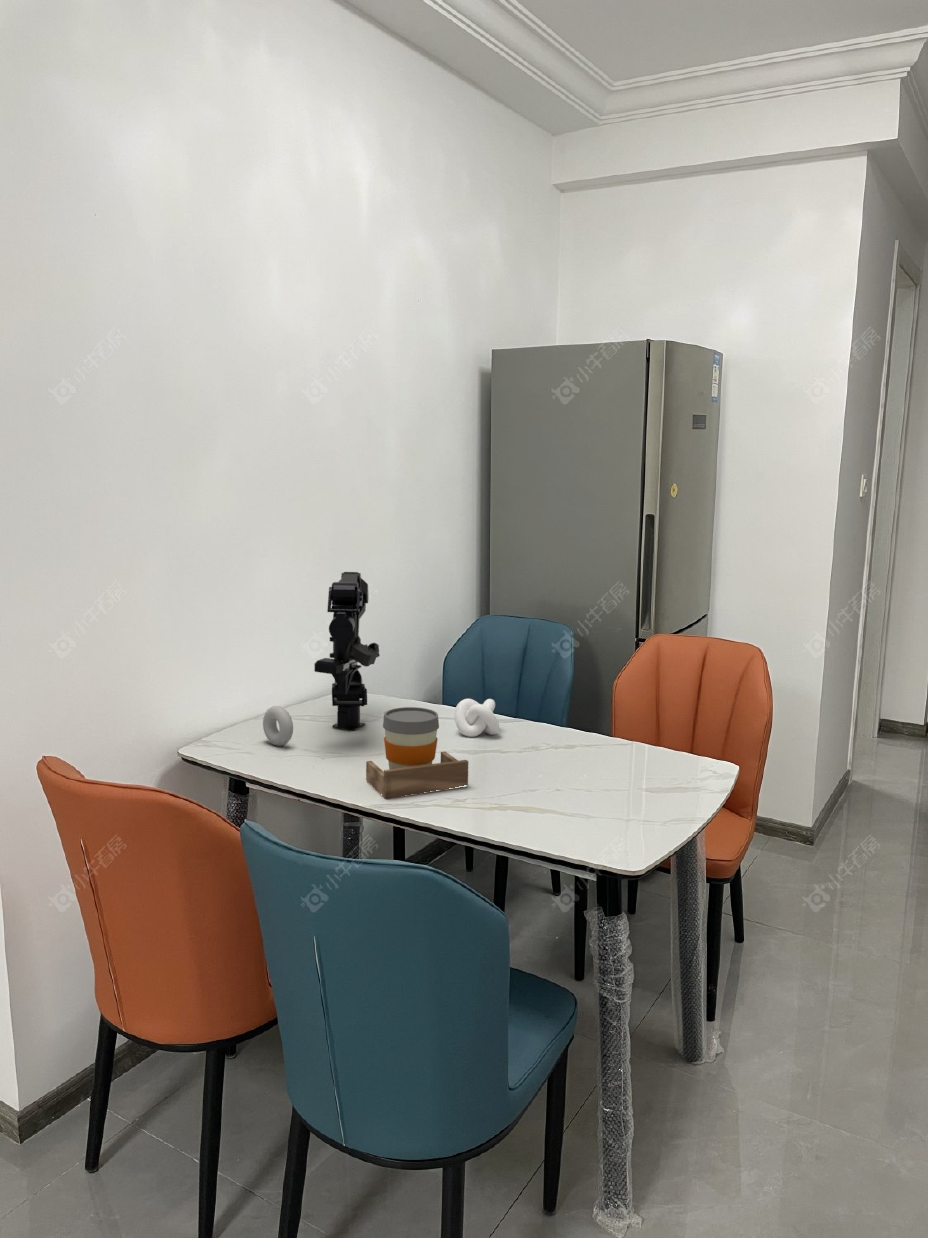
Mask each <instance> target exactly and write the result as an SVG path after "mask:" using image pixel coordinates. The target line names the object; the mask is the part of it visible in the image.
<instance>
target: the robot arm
mask: <svg viewBox="0 0 928 1238" xmlns="http://www.w3.org/2000/svg"><path fill="white" fill-rule="evenodd" d="M340 577H341V578H340V580H338V581H334V582H332V583H331V586H329V587H328V597H327V599H328V600H327V611H326V612H327V613H333V615H332V620H331V621H330V623H329V625H328V632H329V635H330V637H329V642H331V643H332V652H331V653H330V652H329V657H324V658H323V657H322V658H321V659H318V660H317V661H315V662H314V668H313V671H314V672H315V673H322V674H328V675H331V676H332V677H333V679H334V683H331V701H332V703H331V706H332V707H335V706H336V707H337V713H336V714H337V715H336V716H337V717H336V721H337V723H335V724H333V725H332V728H334V729H339V730H345V731H356V730H358V729H360V728H361V727H364V726H365V725H366V723H365V722H361V707H365V706H366V705H368V689H367V688H366V686H365V683H363V678H362V674H361V672H360V671H359V670H360V668H362V666H363V667H365V668H366V667H369V666H371V665H375V662H376V660H377V658H379V657H380V649H379V646H380V645H379V644H378V643H376V642H372V643H370V644H367V643H366V644H363V643H361V640H362V639H361V637H360V636H359V632H360V619H362V617H363V616H364V614H365V612H366V610H367V609H366V606H367V604H369V597H370V596H369V583H367V581H365V580H364V579H363V578H362V575H361V572H358V571H344V572H341V576H340ZM358 663H359V664H360V665H359V664H358Z"/></svg>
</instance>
